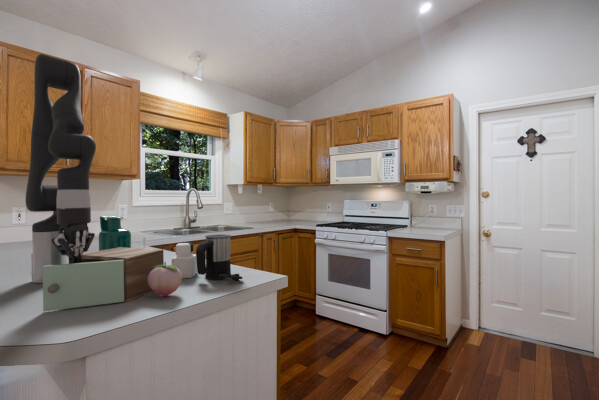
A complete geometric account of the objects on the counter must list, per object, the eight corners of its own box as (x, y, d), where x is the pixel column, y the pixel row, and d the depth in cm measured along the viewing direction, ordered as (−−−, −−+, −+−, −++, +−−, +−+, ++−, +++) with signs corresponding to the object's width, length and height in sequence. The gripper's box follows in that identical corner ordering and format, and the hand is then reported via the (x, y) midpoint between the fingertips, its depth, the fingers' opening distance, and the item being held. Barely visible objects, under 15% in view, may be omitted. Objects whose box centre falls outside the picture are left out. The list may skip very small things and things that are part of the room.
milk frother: (213, 273, 116) (212, 233, 116) (252, 274, 113) (252, 234, 113) (192, 283, 102) (191, 238, 102) (236, 286, 99) (236, 239, 99)
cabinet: (79, 295, 90) (78, 254, 90) (120, 282, 104) (119, 247, 103) (127, 301, 85) (126, 258, 85) (163, 287, 98) (163, 249, 98)
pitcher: (133, 276, 112) (133, 215, 111) (109, 282, 104) (108, 217, 104) (119, 273, 117) (118, 215, 117) (95, 278, 110) (94, 216, 110)
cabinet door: (41, 313, 76) (40, 267, 76) (44, 310, 78) (44, 265, 78) (123, 303, 82) (122, 261, 82) (124, 300, 84) (123, 259, 84)
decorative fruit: (188, 292, 92) (188, 259, 92) (171, 301, 84) (171, 265, 84) (161, 290, 94) (161, 258, 94) (142, 299, 86) (141, 264, 86)
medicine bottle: (177, 273, 116) (177, 241, 115) (197, 273, 116) (196, 241, 116) (171, 278, 108) (171, 244, 108) (192, 278, 109) (191, 244, 109)
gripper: (79, 206, 91) (80, 264, 91) (39, 207, 78) (40, 275, 78) (103, 205, 91) (104, 264, 91) (68, 207, 78) (69, 275, 78)
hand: (75, 269), depth 85 cm, fingers closed
